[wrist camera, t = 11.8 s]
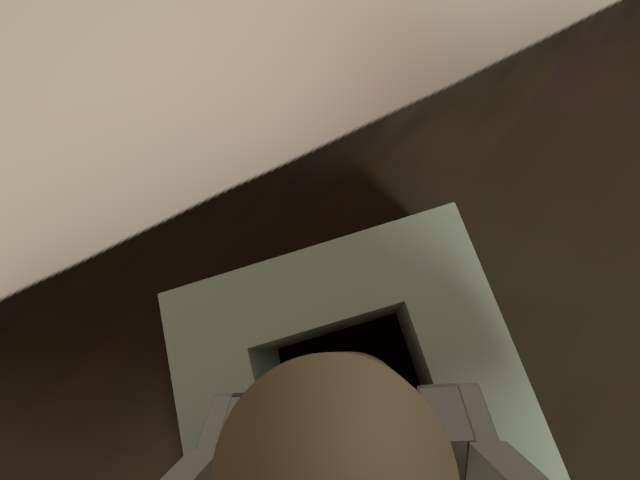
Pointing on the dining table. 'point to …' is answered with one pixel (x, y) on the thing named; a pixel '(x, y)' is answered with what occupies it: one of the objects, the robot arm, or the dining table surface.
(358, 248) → the socket block
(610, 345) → the dining table surface
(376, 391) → the peg
